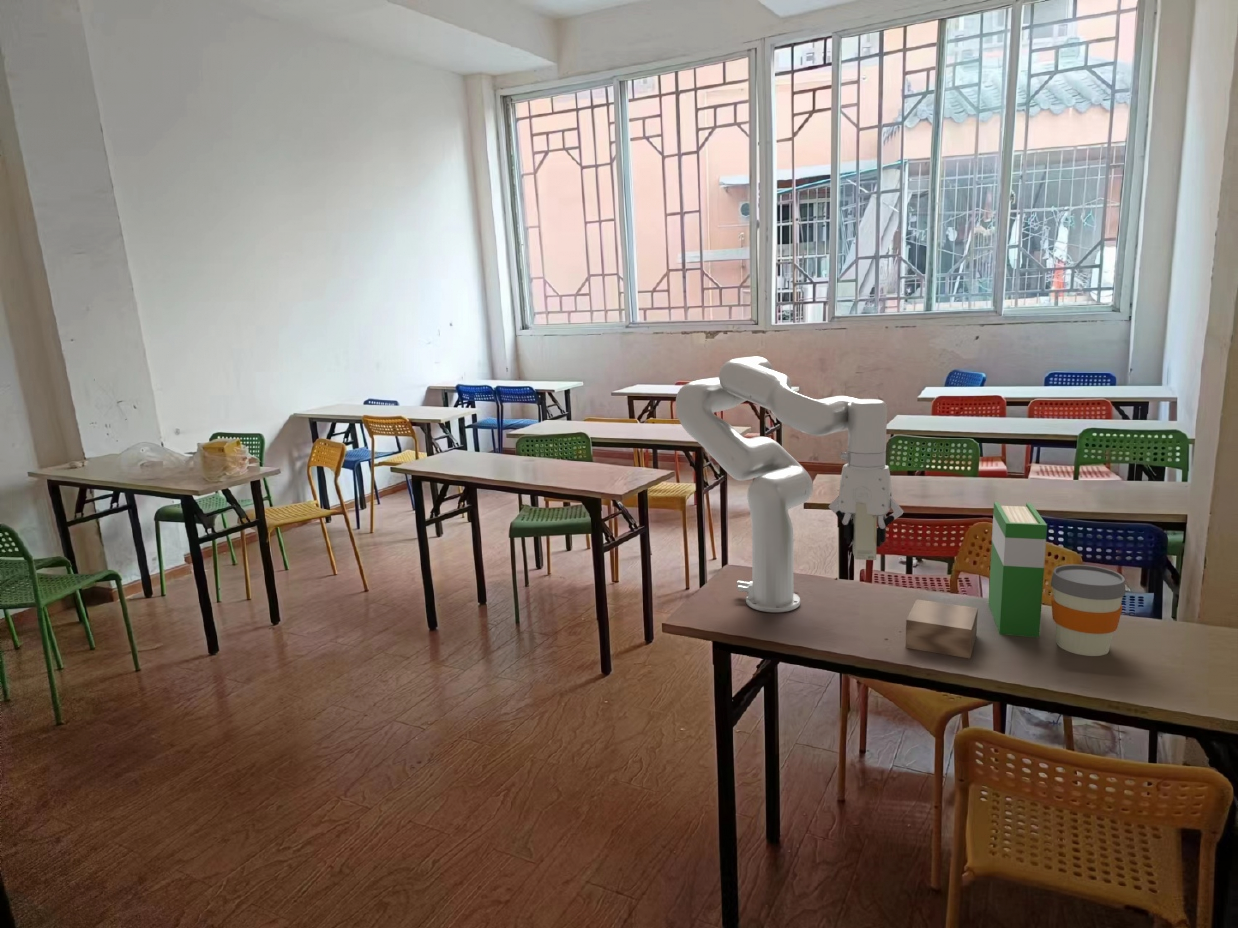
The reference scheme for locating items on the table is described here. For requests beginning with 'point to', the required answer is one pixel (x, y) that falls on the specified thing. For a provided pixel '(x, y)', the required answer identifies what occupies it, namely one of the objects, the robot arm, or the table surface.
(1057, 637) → the reusable coffee cup
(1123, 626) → the table surface
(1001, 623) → the hardback book
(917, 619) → the walnut block
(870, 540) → the skincare box
